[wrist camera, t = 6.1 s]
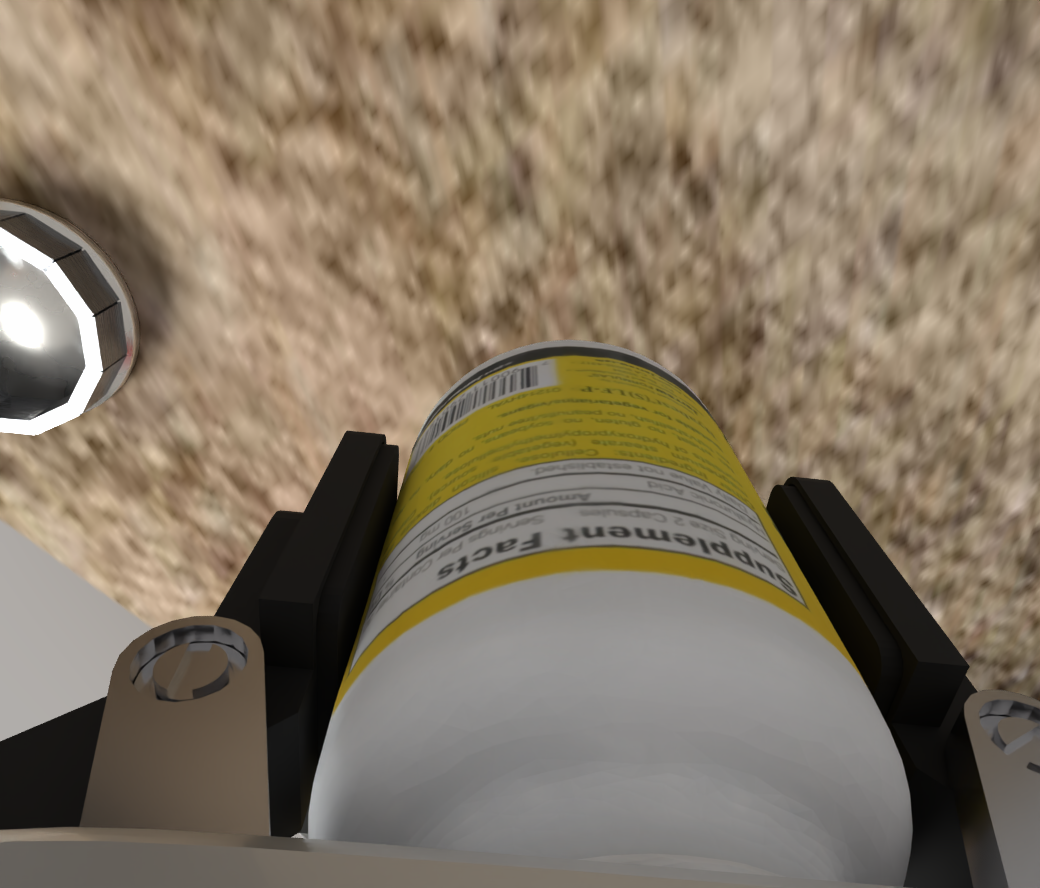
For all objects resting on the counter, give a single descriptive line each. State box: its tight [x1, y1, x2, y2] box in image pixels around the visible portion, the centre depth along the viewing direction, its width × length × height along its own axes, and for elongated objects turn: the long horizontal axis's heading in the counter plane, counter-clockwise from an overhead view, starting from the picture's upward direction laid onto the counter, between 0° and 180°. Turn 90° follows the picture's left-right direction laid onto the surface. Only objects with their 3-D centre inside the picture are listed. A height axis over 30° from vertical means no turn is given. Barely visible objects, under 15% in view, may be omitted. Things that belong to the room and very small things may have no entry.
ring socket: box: [0, 198, 140, 435], centre depth 29 cm, size 9×9×3 cm
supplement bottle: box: [308, 340, 913, 887], centre depth 9 cm, size 5×5×10 cm
